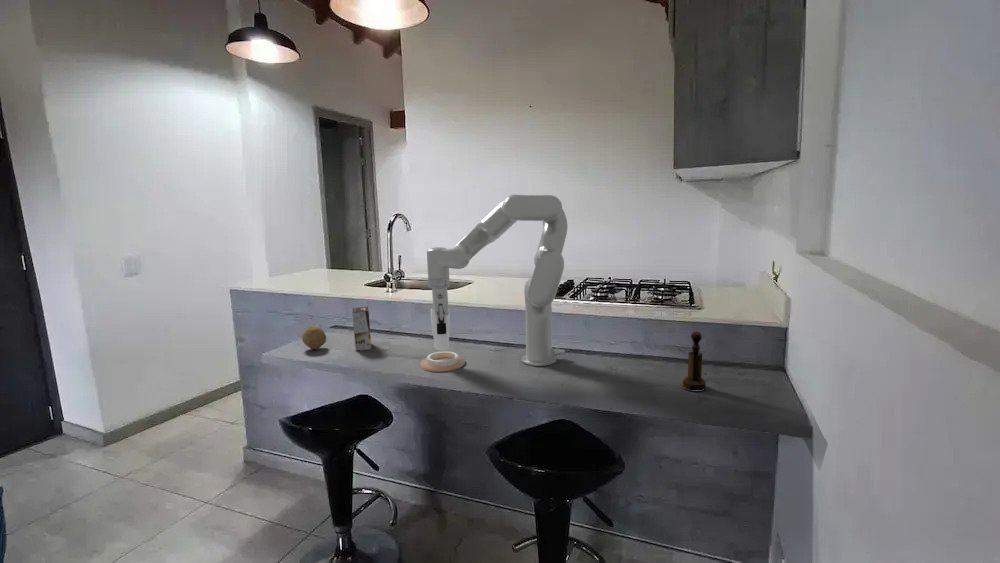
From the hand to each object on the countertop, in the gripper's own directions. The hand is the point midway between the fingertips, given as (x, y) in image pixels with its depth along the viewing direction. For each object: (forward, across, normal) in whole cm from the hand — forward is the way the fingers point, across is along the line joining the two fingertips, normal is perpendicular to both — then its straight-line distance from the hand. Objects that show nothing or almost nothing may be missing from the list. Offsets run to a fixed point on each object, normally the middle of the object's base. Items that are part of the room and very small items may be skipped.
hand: (441, 330), depth 174 cm
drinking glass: (+7, 0, 0) cm, 7 cm away
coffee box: (+13, +29, +31) cm, 44 cm away
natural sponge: (+13, +31, +50) cm, 61 cm away
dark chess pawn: (+13, -41, -75) cm, 86 cm away
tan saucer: (+13, 0, 0) cm, 13 cm away
